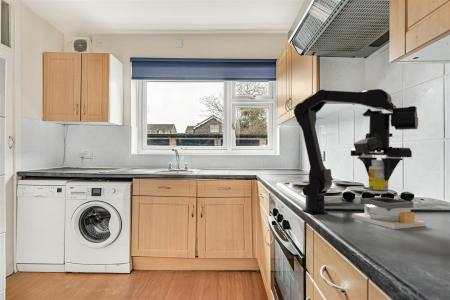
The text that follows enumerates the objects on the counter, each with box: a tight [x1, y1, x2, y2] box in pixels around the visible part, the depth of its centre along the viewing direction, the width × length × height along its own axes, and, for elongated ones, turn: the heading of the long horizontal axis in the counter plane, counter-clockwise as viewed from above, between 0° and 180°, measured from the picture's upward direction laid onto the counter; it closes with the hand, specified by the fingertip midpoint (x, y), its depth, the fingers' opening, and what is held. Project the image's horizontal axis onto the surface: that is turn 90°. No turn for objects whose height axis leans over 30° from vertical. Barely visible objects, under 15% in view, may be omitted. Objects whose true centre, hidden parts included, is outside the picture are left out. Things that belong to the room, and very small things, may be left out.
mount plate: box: [351, 212, 426, 230], centre depth 101 cm, size 16×13×1 cm
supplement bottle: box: [368, 159, 389, 195], centre depth 100 cm, size 6×6×10 cm
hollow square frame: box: [361, 196, 415, 224], centre depth 100 cm, size 14×13×6 cm
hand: (378, 179), depth 100 cm, fingers closed on supplement bottle, 6 cm apart
